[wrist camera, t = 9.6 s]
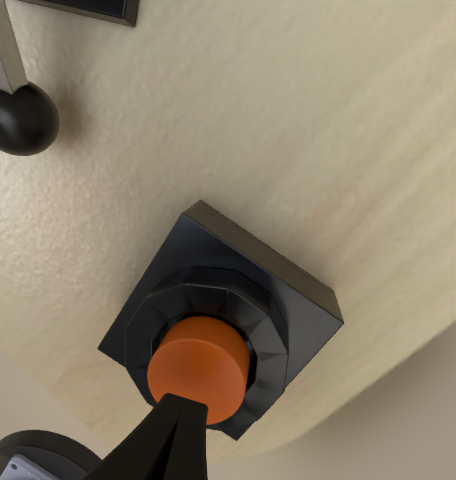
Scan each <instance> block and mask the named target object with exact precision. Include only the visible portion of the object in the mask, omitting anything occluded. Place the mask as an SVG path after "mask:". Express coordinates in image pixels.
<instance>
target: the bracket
mask: <svg viewBox="0 0 456 480" xmlns="http://www.w3.org/2000/svg"><path fill="white" fill-rule="evenodd" d="M20 1H24V2H28V3H33V4H37V5H41V6H46V7H50V8H54V9H59V10H63V11H67V12H72V13H76V14H80V15H85V16H89V17H93V18H97V19H102V20H106V21H110V22H115V23H119V24H123V25H128V26H132V27H134V26H135V23H136V16H137V8H138V1H139V0H20Z"/></svg>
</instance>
